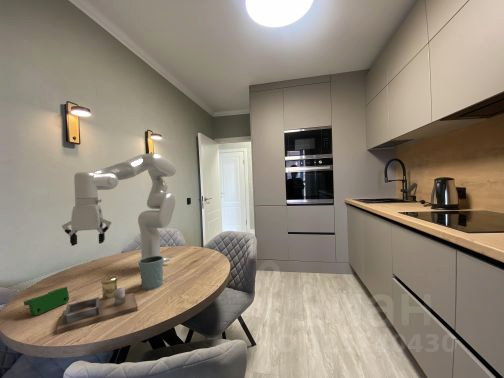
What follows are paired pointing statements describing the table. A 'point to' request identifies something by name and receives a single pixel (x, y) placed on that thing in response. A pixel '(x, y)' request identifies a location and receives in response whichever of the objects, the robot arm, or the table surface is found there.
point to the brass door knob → (109, 287)
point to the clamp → (47, 301)
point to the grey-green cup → (151, 272)
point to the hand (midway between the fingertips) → (88, 243)
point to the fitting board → (96, 310)
